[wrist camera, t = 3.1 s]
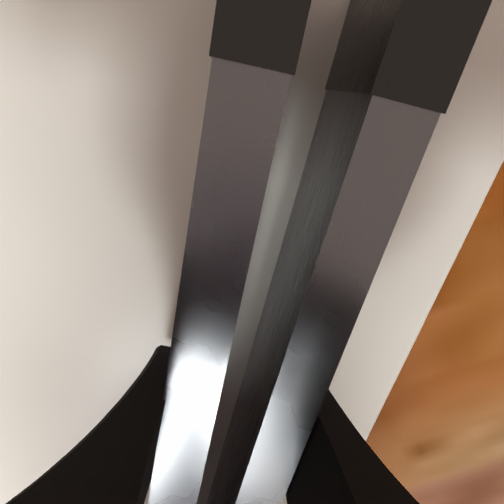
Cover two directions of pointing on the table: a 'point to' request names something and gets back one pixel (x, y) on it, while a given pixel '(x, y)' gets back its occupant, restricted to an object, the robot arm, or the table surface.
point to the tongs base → (341, 225)
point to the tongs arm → (223, 224)
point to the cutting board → (182, 212)
